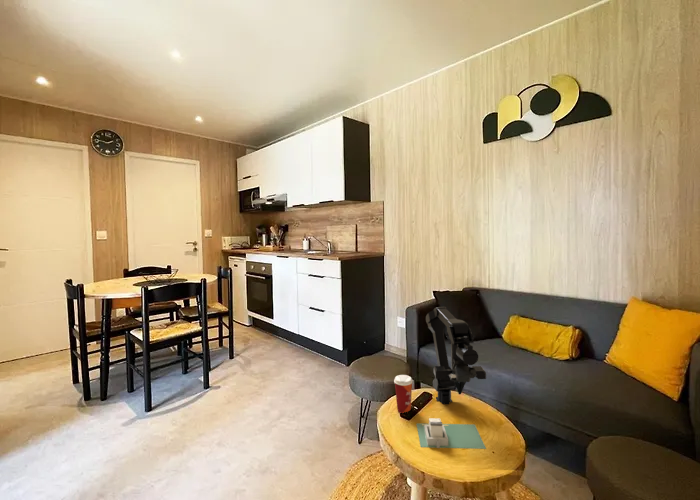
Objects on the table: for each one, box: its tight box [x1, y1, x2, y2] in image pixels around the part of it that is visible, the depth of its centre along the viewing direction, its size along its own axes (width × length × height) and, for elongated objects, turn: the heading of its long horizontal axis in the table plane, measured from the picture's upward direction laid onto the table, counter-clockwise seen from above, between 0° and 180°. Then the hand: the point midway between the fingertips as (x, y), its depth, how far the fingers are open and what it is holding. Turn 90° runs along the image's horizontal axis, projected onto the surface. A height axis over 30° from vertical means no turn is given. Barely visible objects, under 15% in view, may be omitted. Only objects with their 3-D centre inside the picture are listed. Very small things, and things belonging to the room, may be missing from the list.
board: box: [416, 422, 487, 450], centre depth 121 cm, size 14×22×4 cm, turn 85°
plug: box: [428, 417, 443, 438], centre depth 119 cm, size 5×4×7 cm
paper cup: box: [393, 374, 413, 414], centre depth 140 cm, size 8×8×14 cm
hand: (459, 393), depth 128 cm, fingers closed
